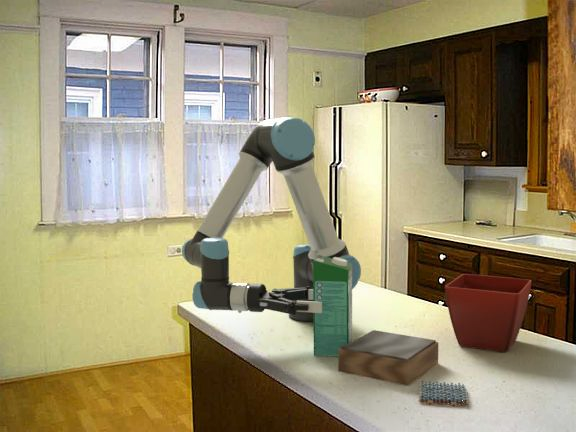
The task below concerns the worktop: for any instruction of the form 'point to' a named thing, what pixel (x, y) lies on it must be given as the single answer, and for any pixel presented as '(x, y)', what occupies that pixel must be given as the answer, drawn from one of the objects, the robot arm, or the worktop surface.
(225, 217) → the robot arm
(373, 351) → the podium
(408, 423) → the worktop surface
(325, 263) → the milk carton
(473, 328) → the plant pot
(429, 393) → the woven mat
